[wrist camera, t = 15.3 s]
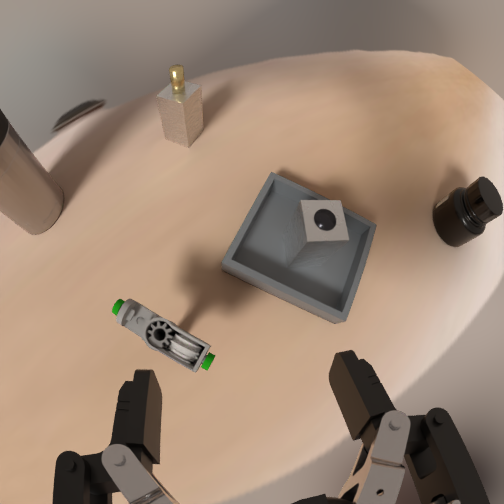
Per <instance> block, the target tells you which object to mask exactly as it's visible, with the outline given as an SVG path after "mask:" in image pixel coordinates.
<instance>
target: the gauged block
mask: <svg viewBox="0 0 504 504" xmlns="http://www.w3.org/2000/svg"><path fill="white" fill-rule="evenodd" d="M169 71H170V78H171V83H170V84H169V85H168V86H166V87H165V88H164V89H163V90H162V91H161V92H160V93H159V94H158V95H157V96H156V97H157V102H158V107H159V112H160V117H161V121H162V126H163V130H164V135H165V139H166V140H169V141H172V142H175V143H177V144H180V145H183V146H185V147H188V148H189V147H190V145H191V144H192V143H193V142H194V140H195V139H196V138H197V137H198V135H199V134H200V133H201V132H202V131H203V112H202V91H201V85H198V84H194V83H190V82H186V81H184V71H183V66H182V65H173V66H171V67H170V69H169Z"/></svg>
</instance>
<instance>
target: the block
mask: <svg viewBox="0 0 504 504" xmlns="http://www.w3.org/2000/svg"><path fill="white" fill-rule="evenodd" d="M283 241H284V249H285V257H286V266H287V268H295V267H311V266H321V265H322V264H323V263H324V262H325V261H326V260H327V259H329V258H330V257H331V256H332V255H333V254H334V253H335V252H336V251H338V250H339V249H340V248H341V247H342V246H343V245H344V244H345V243H346V242H348V241H349V236H348V231H347V226H346V222H345V217H344V213H343V208H342V204H341V200H300V202H299V204H298V206H297V208H296V210H295V212H294V214H293V216H292V218H291V220H290V222H289V224H288V226H287V228H286V230H285V232H284V233H283Z"/></svg>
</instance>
